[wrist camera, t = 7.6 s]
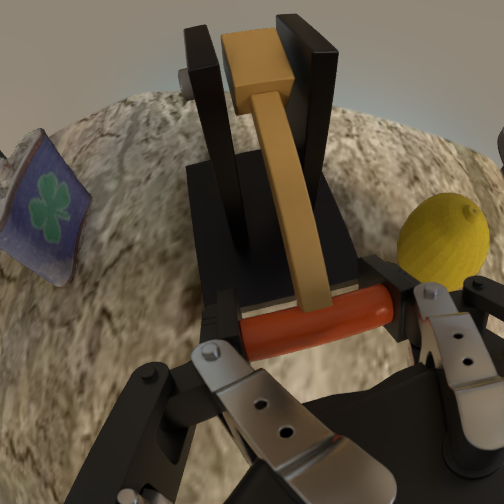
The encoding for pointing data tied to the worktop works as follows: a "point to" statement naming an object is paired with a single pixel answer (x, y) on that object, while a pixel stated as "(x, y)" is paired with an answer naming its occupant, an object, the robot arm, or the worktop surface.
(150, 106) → the worktop surface
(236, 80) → the valve lever
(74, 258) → the flask
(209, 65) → the black lever stand
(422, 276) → the lemon
